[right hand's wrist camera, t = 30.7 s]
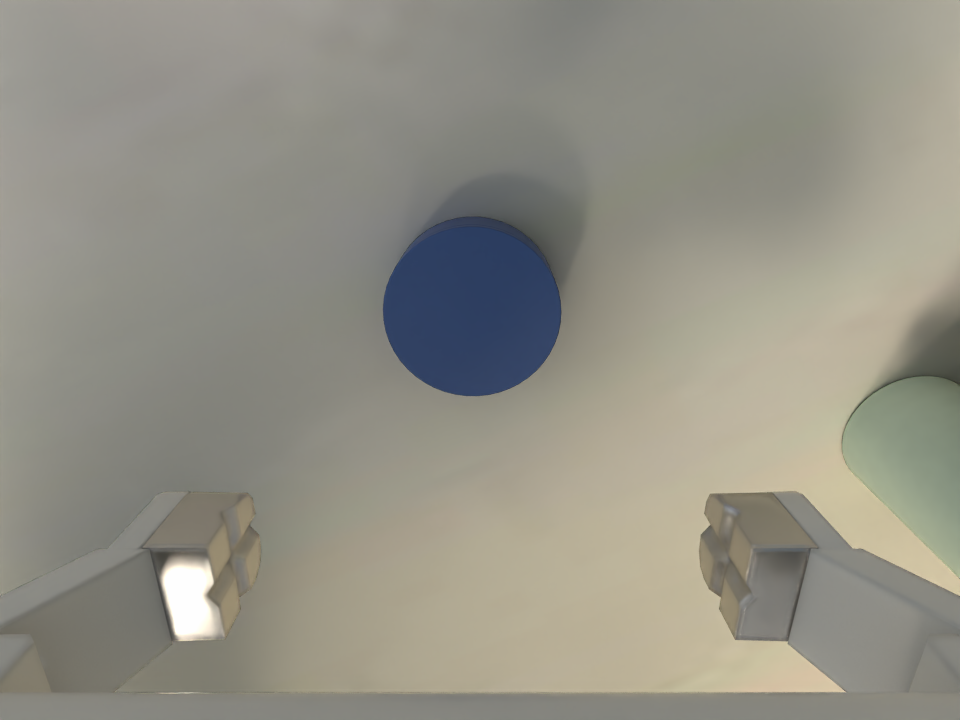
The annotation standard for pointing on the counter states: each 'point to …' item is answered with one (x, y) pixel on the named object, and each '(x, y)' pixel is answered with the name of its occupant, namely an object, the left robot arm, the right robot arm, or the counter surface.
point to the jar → (913, 458)
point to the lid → (472, 307)
